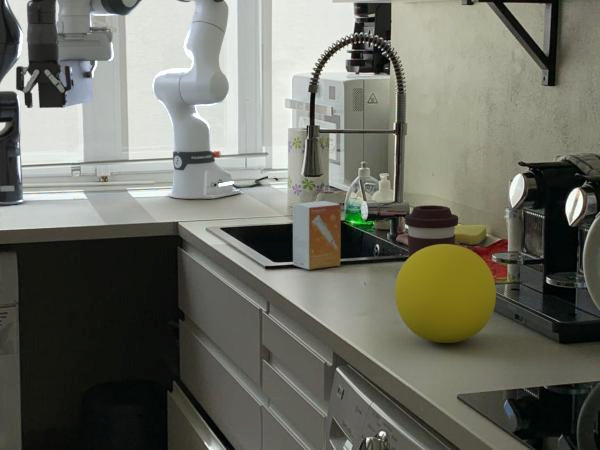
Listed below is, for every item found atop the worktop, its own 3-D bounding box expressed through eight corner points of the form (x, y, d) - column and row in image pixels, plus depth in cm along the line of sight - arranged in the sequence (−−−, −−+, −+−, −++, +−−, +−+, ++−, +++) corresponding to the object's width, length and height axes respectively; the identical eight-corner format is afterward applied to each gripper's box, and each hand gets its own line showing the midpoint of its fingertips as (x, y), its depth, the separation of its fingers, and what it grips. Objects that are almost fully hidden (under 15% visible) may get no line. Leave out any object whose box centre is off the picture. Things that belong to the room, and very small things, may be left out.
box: (61, 107, 266) (58, 61, 264) (39, 107, 266) (36, 61, 264) (92, 100, 293) (90, 59, 291) (72, 101, 294) (70, 59, 292)
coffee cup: (400, 280, 202) (400, 204, 200) (450, 279, 203) (451, 203, 201) (409, 292, 193) (410, 212, 190) (462, 291, 193) (463, 211, 191)
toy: (462, 323, 171) (464, 233, 168) (512, 348, 157) (515, 250, 154) (379, 333, 165) (379, 240, 163) (423, 359, 151) (424, 258, 149)
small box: (309, 270, 213) (308, 207, 211) (292, 265, 218) (291, 203, 216) (341, 265, 217) (341, 203, 215) (324, 260, 222) (323, 200, 220)
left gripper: (75, 42, 264) (78, 106, 267) (20, 42, 265) (24, 107, 268) (66, 42, 256) (69, 108, 259) (9, 42, 258) (13, 108, 260)
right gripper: (115, 26, 289) (117, 77, 291) (43, 27, 291) (46, 78, 293) (109, 26, 282) (111, 78, 285) (35, 27, 284) (38, 78, 287)
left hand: (46, 107), depth 263 cm, fingers open, 8 cm apart
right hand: (77, 78), depth 289 cm, fingers closed on box, 6 cm apart
